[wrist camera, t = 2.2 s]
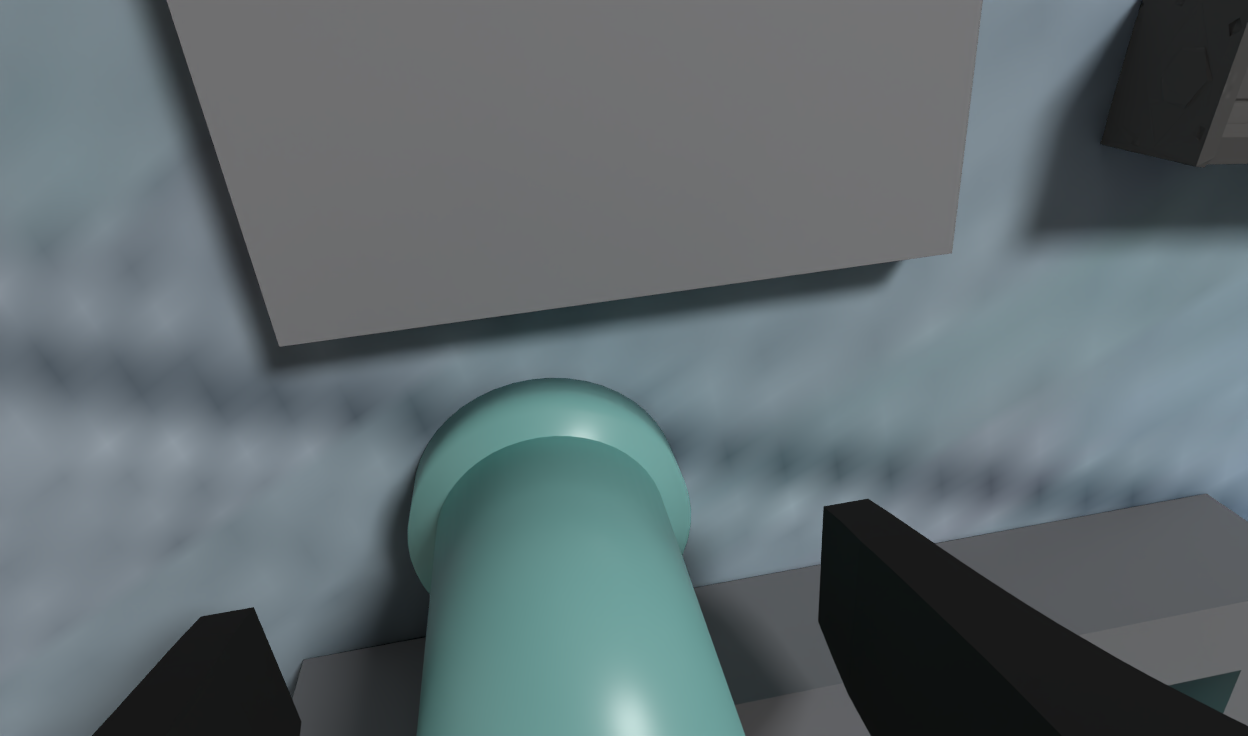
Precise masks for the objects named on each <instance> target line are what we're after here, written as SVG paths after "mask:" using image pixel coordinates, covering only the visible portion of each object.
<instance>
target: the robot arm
mask: <svg viewBox="0 0 1248 736" xmlns="http://www.w3.org/2000/svg"><path fill="white" fill-rule="evenodd" d="M818 623H819V625H820V628H821V630H822V633H823V635H824V638H825V640H826V643H827V645H828V648H829V650H830V653H831V655H832V658H833V660H834V663H835V665H836V667H837V670H838V672H839V674H840V677H841V679H842V681H843V684H844V686H845V688H846V691H847V693H848V695H849V697H850V699H851V701H852V702H853V704H854V706H855V708H856V710H857V712H858V714H859V715H860V717H861V719H862V721H863V723H864V725H865V726H866V728H867V730H868V732H869V734H870V735H871V736H1248V726H1247V725H1245V724H1243V723H1241V722H1239V721H1237V720H1235V719H1233V718H1231V717H1229V716H1227V715H1225V714H1223V713H1221V712H1219V711H1217V710H1215V709H1213V708H1211V707H1209V706H1207V705H1205V704H1203V703H1201V702H1199V701H1198V700H1196V699H1194V698H1192V697H1190V696H1188V695H1186V694H1184V693H1182V692H1180V691H1178V690H1176V689H1174V688H1172V687H1170V686H1168V685H1166V684H1164V683H1162V682H1160V681H1158V680H1157V679H1155V678H1153V677H1151V676H1149V675H1147V674H1145V673H1144V672H1142V671H1140V670H1138V669H1136V668H1134V667H1133V666H1131V665H1129V664H1127V663H1125V662H1124V661H1122V660H1120V659H1118V658H1116V657H1115V656H1113V655H1111V654H1110V653H1108V652H1106V651H1104V650H1103V649H1101V648H1099V647H1098V646H1096V645H1094V644H1092V643H1091V642H1089V641H1087V640H1086V639H1084V638H1082V637H1080V636H1079V635H1077V634H1075V633H1074V632H1072V631H1070V630H1068V629H1067V628H1065V627H1063V626H1062V625H1060V624H1058V623H1057V622H1055V621H1053V620H1052V619H1050V618H1048V617H1047V616H1045V615H1044V614H1042V613H1040V612H1039V611H1037V610H1035V609H1034V608H1032V607H1031V606H1029V605H1027V604H1026V603H1024V602H1023V601H1021V600H1019V599H1018V598H1016V597H1015V596H1013V595H1012V594H1010V593H1008V592H1007V591H1005V590H1004V589H1002V588H1001V587H999V586H998V585H996V584H995V583H993V582H991V581H990V580H988V579H987V578H985V577H984V576H982V575H981V574H979V573H978V572H976V571H975V570H973V569H972V568H970V567H969V566H967V565H966V564H964V563H963V562H961V561H960V560H958V559H957V558H955V557H954V556H952V555H951V554H949V553H948V552H946V551H945V550H943V549H942V548H940V547H939V546H938V545H936V544H935V543H933V542H932V541H930V540H929V539H927V538H926V537H924V536H923V535H921V534H920V533H918V532H917V531H916V530H914V529H913V528H911V527H910V526H908V525H907V524H905V523H904V522H902V521H901V520H899V519H898V518H896V517H895V516H893V515H892V514H891V513H889V512H888V511H886V510H885V509H883V508H882V507H880V506H878V505H877V504H875V503H874V502H872V501H871V500H869V499H864V500H858V501H852V502H847V503H841V504H835V505H830V506H824V511H823V531H822V551H821V571H820V591H819V611H818ZM301 723H302V721H301V719H300V717H299V714H298V712H297V710H296V707H295V705H294V702H293V700H292V698H291V695H290V693H289V690H288V688H287V686H286V683H285V681H284V679H283V676H282V674H281V671H280V669H279V667H278V664H277V662H276V659H275V657H274V655H273V652H272V650H271V647H270V645H269V643H268V640H267V638H266V636H265V633H264V631H263V628H262V626H261V624H260V621H259V619H258V616H257V614H256V612H255V609H254V607H253V608H247V609H242V610H236V611H230V612H225V613H219V614H213V615H208V616H202V617H200V618H199V619H198V620H197V621H196V622H195V624H194V625H193V626H192V627H191V628H190V629H189V630H188V631H187V632H186V633H185V634H184V635H183V636H182V637H181V638H180V639H179V640H178V641H177V643H176V644H175V645H174V646H173V647H172V648H171V649H170V650H169V651H168V652H167V654H166V655H165V656H164V657H163V658H162V659H161V660H160V661H159V662H158V663H157V665H156V666H155V667H154V668H153V669H152V670H151V671H150V672H149V673H148V675H147V676H146V677H145V678H144V679H143V680H142V681H141V682H140V683H139V685H138V686H137V687H136V688H135V689H134V690H133V691H132V692H131V693H130V695H129V696H128V697H127V698H126V699H125V700H124V701H123V702H122V703H121V705H120V706H119V707H118V708H117V709H116V710H115V711H114V712H113V713H112V714H111V716H110V717H109V718H108V719H107V720H106V721H105V722H104V723H103V724H102V725H101V726H100V727H99V729H98V730H97V731H96V732H95V733H94V734H93V735H92V736H300V731H301Z"/></svg>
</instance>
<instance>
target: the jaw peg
mask: <svg viewBox="0 0 1248 736" xmlns="http://www.w3.org/2000/svg"><path fill="white" fill-rule="evenodd" d="M690 525H691V507H690V500H689V494H688V491H687V488H686V485H685V481H684V479H683V477H682V474H681V472H680V469H679V467H678V464H677V462H676V460H675V457H674V455H673V452H672V450H671V447H670V445H669V443H668V441H667V439H666V437H665V435H664V433H663V432H662V430H661V429H660V427H659V426H658V425H657V423H656V422H655V421H654V420H653V418H652V417H651V416H650V415H649V414H648V413H647V412H646V411H645V410H644V409H642V408H641V407H640V406H639V405H637V404H636V403H635V402H633V401H632V400H630V399H629V398H627V397H625V396H624V395H622V394H620V393H618V392H616V391H614V390H611V389H609V388H607V387H604V386H601V385H598V384H594V383H590V382H587V381H581V380H574V379H568V378H544V379H533V380H527V381H522V382H517V383H512V384H509V385H506V386H503V387H500V388H497V389H494V390H492V391H490V392H488V393H486V394H484V395H482V396H480V397H478V398H476V399H474V400H473V401H471V402H470V403H468V404H466V405H465V406H463V407H462V408H461V409H459V410H458V411H457V412H456V413H455V414H453V415H452V416H451V417H450V418H449V419H448V420H447V421H446V422H445V423H444V424H443V425H442V426H441V427H440V428H439V429H438V430H437V432H436V433H435V435H434V436H433V438H432V439H431V440H430V442H429V443H428V445H427V447H426V449H425V451H424V453H423V455H422V457H421V459H420V462H419V465H418V469H417V472H416V477H415V483H414V490H413V496H412V503H411V510H410V516H409V523H408V547H409V553H410V558H411V561H412V564H413V566H414V569H415V572H416V574H417V576H418V578H419V579H420V581H421V583H422V585H423V586H424V587H425V589H426V590H427V591H428V593H429V594H430V601H429V611H428V622H427V632H426V642H425V653H424V663H423V673H422V683H421V694H420V704H419V714H418V725H417V735H416V736H745V733H744V730H743V727H742V725H741V722H740V719H739V716H738V713H737V710H736V708H735V705H734V702H733V699H732V696H731V693H730V691H729V688H728V685H727V682H726V679H725V676H724V673H723V671H722V668H721V665H720V662H719V659H718V656H717V654H716V651H715V648H714V645H713V642H712V639H711V636H710V634H709V631H708V628H707V625H706V622H705V619H704V617H703V614H702V611H701V608H700V605H699V602H698V599H697V597H696V594H695V591H694V588H693V585H692V582H691V580H690V577H689V574H688V571H687V568H686V565H685V562H684V560H683V557H682V554H683V552H684V549H685V546H686V543H687V540H688V536H689V530H690Z"/></svg>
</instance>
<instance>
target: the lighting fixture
mask: <svg viewBox="0 0 1248 736" xmlns="http://www.w3.org/2000/svg"><path fill="white" fill-rule="evenodd" d="M1142 2H1143V3H1142V4H1141V5H1140V9H1139V13H1138V16H1137V18H1136V21H1135V25H1134V28H1133V31H1132V35H1131V38H1130V42H1129V45H1128V49H1127V52H1126V56H1125V59H1124V62H1123V66H1122V69H1121V73H1120V76H1119V80H1118V83H1117V87H1116V90H1115V93H1114V97H1113V100H1112V104H1111V107H1110V111H1109V114H1108V118H1107V123H1106V127H1105V131H1104V134H1103V138H1102V140H1101V142H1100V144H1102V145H1106V146H1110V147H1114V148H1119V149H1123V150H1127V151H1132V152H1136V153H1140V154H1145V155H1149V156H1153V157H1157V158H1162V159H1166V160H1170V161H1175V162H1179V163H1183V164H1188V165H1192V166H1196V167H1205V166H1206V165H1207V164H1248V0H1142Z"/></svg>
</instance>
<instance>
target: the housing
mask: <svg viewBox="0 0 1248 736" xmlns="http://www.w3.org/2000/svg"><path fill="white" fill-rule="evenodd" d="M936 545H938V546H939V547H940V548H942V549H943V550H945V551H946V552H948V553H949V554H951V555H952V556H954V557H955V558H957V559H958V560H960V561H961V562H963V563H964V564H966V565H967V566H969V567H970V568H972V569H973V570H975V571H976V572H978V573H979V574H981V575H982V576H984V577H985V578H987V579H988V580H990V581H991V582H993V583H995V584H996V585H998V586H999V587H1001V588H1002V589H1004V590H1005V591H1007V592H1008V593H1010V594H1012V595H1013V596H1015V597H1016V598H1018V599H1019V600H1021V601H1023V602H1024V603H1026V604H1027V605H1029V606H1031V607H1032V608H1034V609H1035V610H1037V611H1039V612H1040V613H1042V614H1044V615H1045V616H1047V617H1048V618H1050V619H1052V620H1053V621H1055V622H1057V623H1058V624H1060V625H1062V626H1063V627H1065V628H1067V629H1068V630H1070V631H1072V632H1074V633H1075V634H1077V635H1079V636H1080V637H1082V638H1084V639H1086V640H1087V641H1089V642H1091V643H1092V644H1094V645H1096V646H1098V647H1099V648H1101V649H1103V650H1104V651H1106V652H1108V653H1110V654H1111V655H1113V656H1115V657H1116V658H1118V659H1120V660H1122V661H1124V662H1125V663H1127V664H1129V665H1131V666H1133V667H1134V668H1136V669H1138V670H1140V671H1142V672H1144V673H1145V674H1147V675H1149V676H1151V677H1153V678H1155V679H1157V680H1158V681H1160V682H1162V683H1164V684H1166V685H1168V686H1170V687H1172V688H1174V689H1176V690H1178V691H1180V692H1182V693H1184V694H1186V695H1188V696H1190V697H1192V698H1194V699H1196V700H1198V701H1199V702H1201V703H1203V704H1205V705H1207V706H1209V707H1211V708H1213V709H1215V710H1217V711H1219V712H1221V713H1223V714H1225V715H1227V716H1229V717H1231V718H1233V719H1235V720H1237V721H1239V722H1241V723H1243V724H1245V725H1247V726H1248V522H1247V521H1246V520H1244V519H1243V518H1241V517H1240V516H1239V515H1237V514H1236V513H1234V512H1233V511H1231V510H1230V509H1228V508H1227V507H1225V506H1224V505H1222V504H1221V503H1219V502H1218V501H1217V500H1215V499H1214V498H1212V497H1211V496H1209V495H1208V494H1202V495H1197V496H1191V497H1186V498H1180V499H1175V500H1169V501H1164V502H1159V503H1153V504H1148V505H1142V506H1137V507H1131V508H1126V509H1120V510H1115V511H1110V512H1104V513H1099V514H1093V515H1088V516H1082V517H1077V518H1072V519H1066V520H1061V521H1055V522H1050V523H1044V524H1039V525H1033V526H1028V527H1023V528H1017V529H1012V530H1006V531H1001V532H995V533H990V534H985V535H979V536H974V537H968V538H963V539H957V540H952V541H947V542H941V543H936ZM820 571H821V565H816V566H811V567H805V568H800V569H794V570H789V571H783V572H778V573H773V574H767V575H762V576H756V577H751V578H745V579H740V580H734V581H729V582H724V583H718V584H713V585H707V586H702V587H696V588H694V591H695V594H696V597H697V599H698V602H699V605H700V608H701V611H702V614H703V617H704V619H705V622H706V625H707V628H708V631H709V634H710V636H711V639H712V642H713V645H714V648H715V651H716V654H717V656H718V659H719V662H720V665H721V668H722V671H723V673H724V676H725V679H726V682H727V685H728V688H729V691H730V693H731V696H732V699H733V702H734V705H735V708H736V710H737V713H738V716H739V719H740V722H741V725H742V727H743V730H744V733H745V736H871V735H870V734H869V732H868V730H867V728H866V726H865V725H864V723H863V721H862V719H861V717H860V715H859V714H858V712H857V710H856V708H855V706H854V704H853V702H852V701H851V699H850V697H849V695H848V693H847V691H846V688H845V686H844V684H843V681H842V679H841V677H840V674H839V672H838V670H837V667H836V665H835V663H834V660H833V658H832V655H831V653H830V650H829V648H828V645H827V643H826V640H825V638H824V635H823V633H822V630H821V628H820V625H819V623H818V611H819V591H820ZM425 642H426V637H425V638H419V639H414V640H408V641H403V642H397V643H392V644H387V645H381V646H376V647H370V648H365V649H359V650H354V651H349V652H343V653H338V654H332V655H327V656H321V657H316V658H310V659H305V660H303V663H302V667H301V670H300V674H299V678H298V681H297V685H296V688H295V692H294V695H293V699H292V700H293V702H294V705H295V707H296V710H297V712H298V714H299V717H300V719H301V721H302V723H301V731H300V736H416V735H417V725H418V714H419V704H420V694H421V683H422V673H423V663H424V653H425Z"/></svg>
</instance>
